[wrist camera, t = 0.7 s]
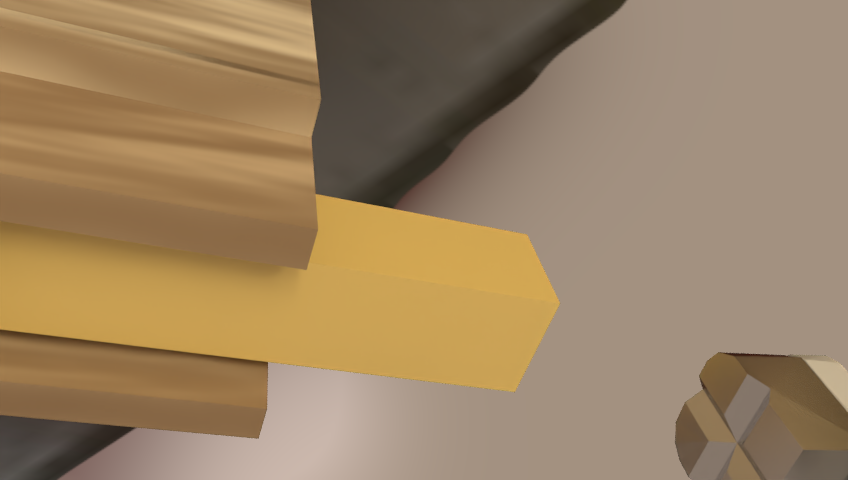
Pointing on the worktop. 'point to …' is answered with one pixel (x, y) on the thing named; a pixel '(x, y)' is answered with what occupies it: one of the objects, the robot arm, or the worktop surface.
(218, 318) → the ochre bar
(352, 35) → the worktop surface
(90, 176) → the birch stand
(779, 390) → the robot arm
